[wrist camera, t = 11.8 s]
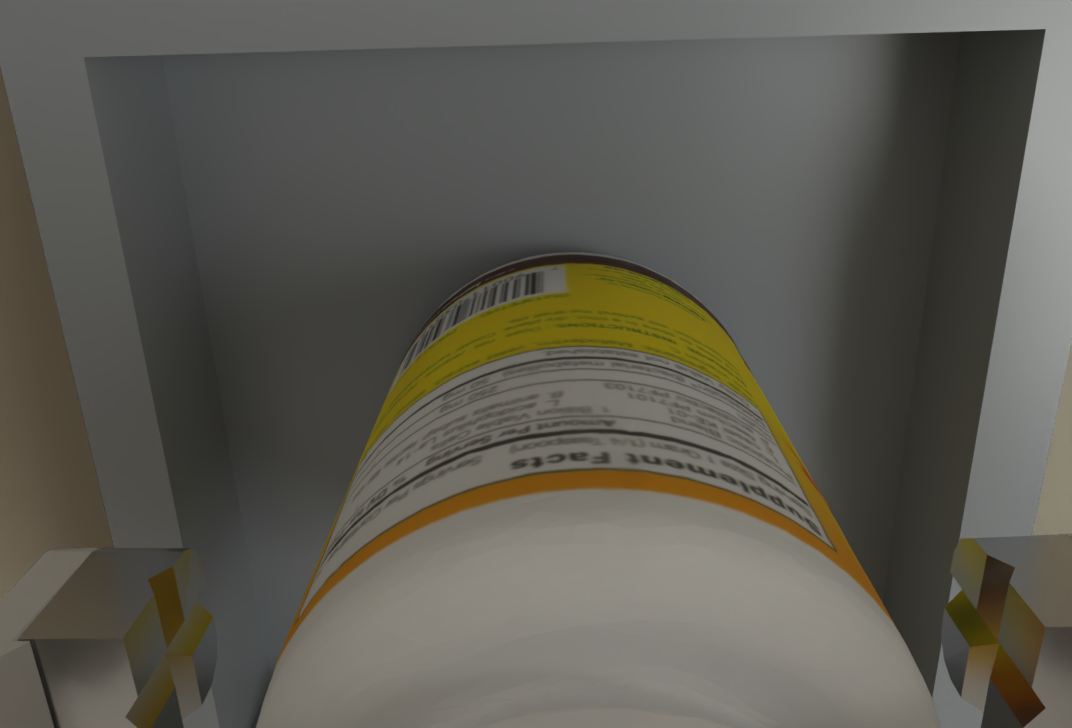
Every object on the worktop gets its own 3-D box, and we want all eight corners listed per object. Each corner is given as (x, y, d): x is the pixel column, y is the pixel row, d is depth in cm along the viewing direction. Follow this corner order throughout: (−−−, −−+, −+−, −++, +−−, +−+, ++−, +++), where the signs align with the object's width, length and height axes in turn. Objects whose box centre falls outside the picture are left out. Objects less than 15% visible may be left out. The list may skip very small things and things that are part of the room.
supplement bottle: (663, 595, 16) (840, 1506, 6) (356, 497, 15) (27, 1344, 6) (807, 310, 14) (1395, 1006, 4) (461, 183, 13) (227, 664, 4)
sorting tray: (1021, -55, 13) (1156, -73, 10) (906, 687, 17) (974, 818, 15) (101, -26, 13) (-24, -34, 10) (237, 695, 18) (179, 823, 15)
